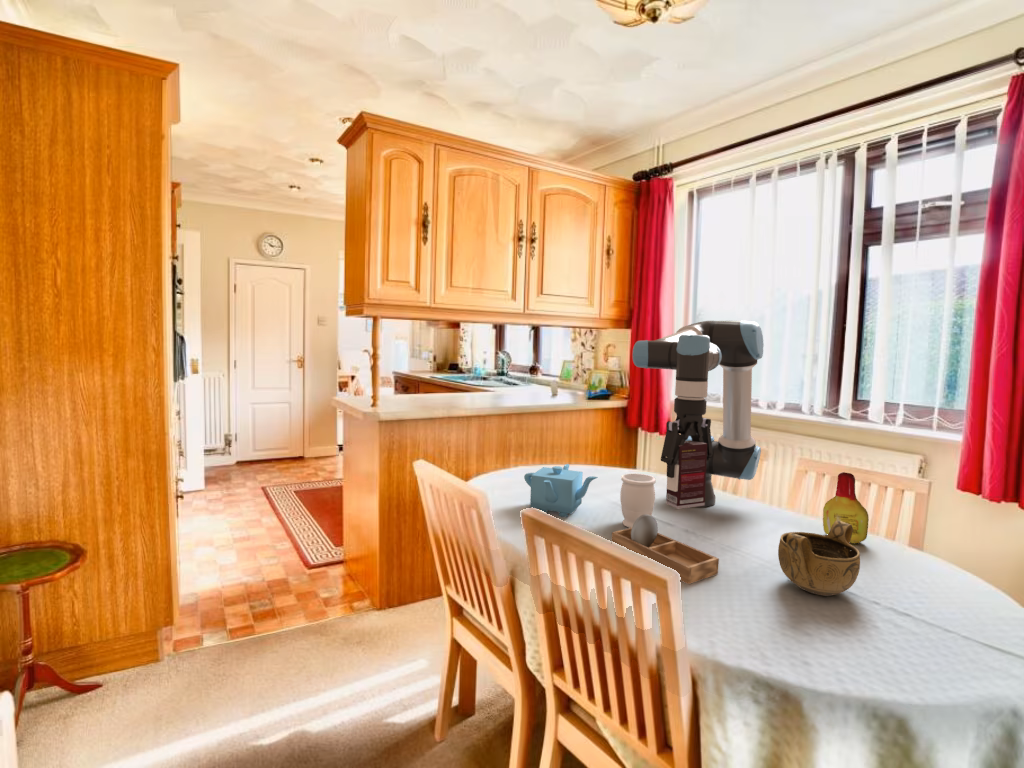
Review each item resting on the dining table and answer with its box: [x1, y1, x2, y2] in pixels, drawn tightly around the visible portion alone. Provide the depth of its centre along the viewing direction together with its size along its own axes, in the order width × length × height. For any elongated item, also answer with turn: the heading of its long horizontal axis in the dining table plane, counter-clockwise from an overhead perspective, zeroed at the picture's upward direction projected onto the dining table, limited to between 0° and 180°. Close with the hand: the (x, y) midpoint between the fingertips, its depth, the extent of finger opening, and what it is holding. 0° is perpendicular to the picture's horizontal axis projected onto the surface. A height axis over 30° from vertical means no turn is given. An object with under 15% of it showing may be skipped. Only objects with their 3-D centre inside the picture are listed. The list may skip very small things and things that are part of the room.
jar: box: [619, 473, 656, 528], centre depth 170 cm, size 11×10×15 cm
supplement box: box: [665, 441, 707, 510], centre depth 138 cm, size 9×5×16 cm, turn 112°
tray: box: [611, 514, 720, 585], centre depth 145 cm, size 11×26×10 cm, turn 33°
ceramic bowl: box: [777, 521, 861, 597], centre depth 130 cm, size 22×17×15 cm
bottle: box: [822, 471, 870, 544], centre depth 162 cm, size 12×6×20 cm, turn 32°
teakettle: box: [524, 463, 598, 518], centre depth 182 cm, size 19×19×15 cm
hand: (685, 487), depth 138 cm, fingers closed on supplement box, 9 cm apart
